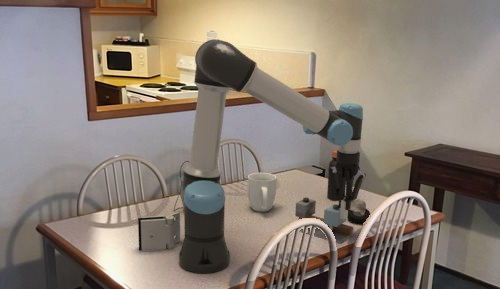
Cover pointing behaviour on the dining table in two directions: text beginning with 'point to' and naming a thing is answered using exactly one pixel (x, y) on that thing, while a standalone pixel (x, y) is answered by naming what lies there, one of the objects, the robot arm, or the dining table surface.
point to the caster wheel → (358, 212)
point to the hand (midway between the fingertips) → (343, 217)
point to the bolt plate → (338, 235)
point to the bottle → (330, 188)
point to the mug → (261, 191)
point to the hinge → (159, 232)
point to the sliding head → (333, 216)
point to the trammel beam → (307, 210)
